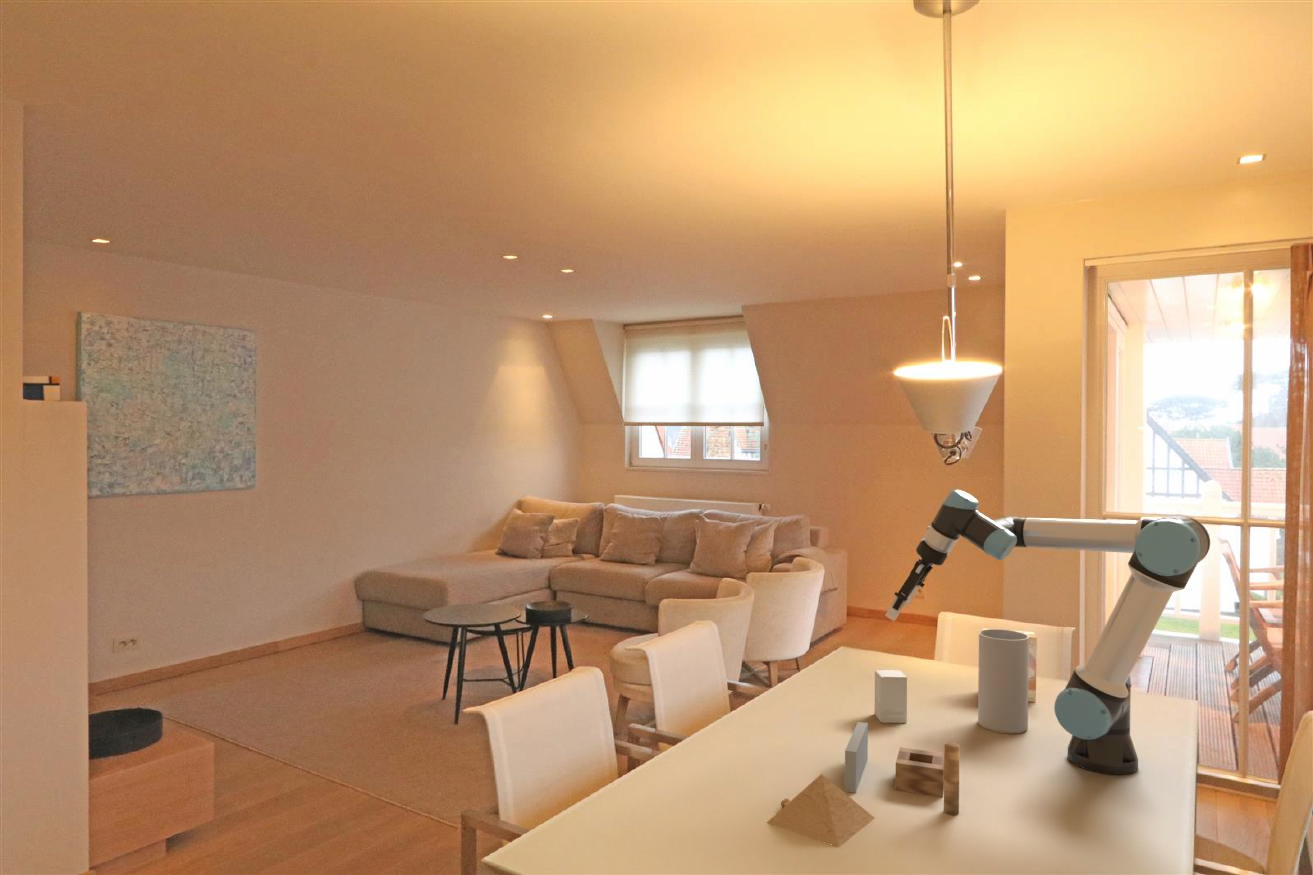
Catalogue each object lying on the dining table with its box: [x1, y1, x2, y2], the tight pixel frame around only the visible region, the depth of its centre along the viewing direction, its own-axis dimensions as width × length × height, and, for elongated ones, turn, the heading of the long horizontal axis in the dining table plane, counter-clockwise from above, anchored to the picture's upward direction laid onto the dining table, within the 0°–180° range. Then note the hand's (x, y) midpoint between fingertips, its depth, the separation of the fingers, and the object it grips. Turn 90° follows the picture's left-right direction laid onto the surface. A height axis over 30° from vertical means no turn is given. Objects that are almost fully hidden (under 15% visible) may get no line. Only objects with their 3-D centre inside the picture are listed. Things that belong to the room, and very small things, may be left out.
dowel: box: [943, 742, 960, 816], centre depth 178 cm, size 3×3×14 cm
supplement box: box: [874, 669, 908, 724], centre depth 236 cm, size 7×7×13 cm
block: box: [895, 746, 944, 798], centre depth 192 cm, size 10×10×6 cm
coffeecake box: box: [981, 628, 1038, 703], centre depth 256 cm, size 15×7×20 cm, turn 73°
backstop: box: [844, 721, 869, 794], centre depth 197 cm, size 2×20×9 cm, turn 159°
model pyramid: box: [766, 773, 876, 848], centre depth 174 cm, size 17×17×10 cm
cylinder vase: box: [977, 628, 1029, 735], centre depth 230 cm, size 12×12×25 cm
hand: (896, 610), depth 226 cm, fingers open, 13 cm apart
